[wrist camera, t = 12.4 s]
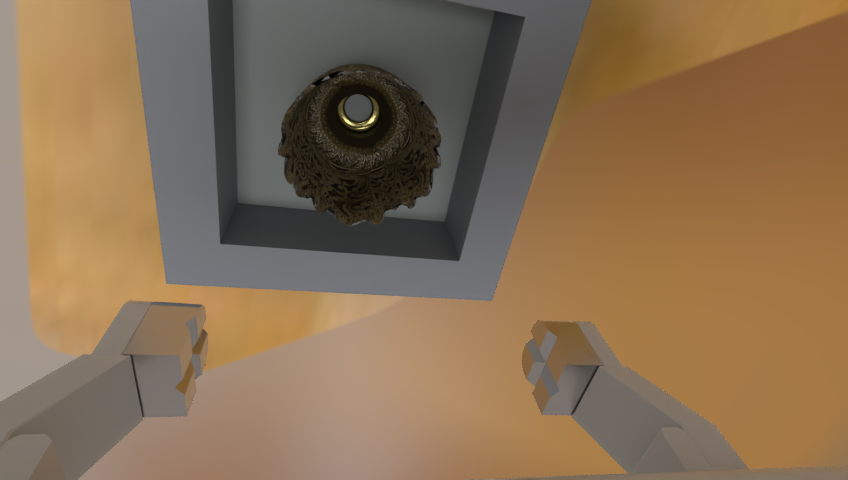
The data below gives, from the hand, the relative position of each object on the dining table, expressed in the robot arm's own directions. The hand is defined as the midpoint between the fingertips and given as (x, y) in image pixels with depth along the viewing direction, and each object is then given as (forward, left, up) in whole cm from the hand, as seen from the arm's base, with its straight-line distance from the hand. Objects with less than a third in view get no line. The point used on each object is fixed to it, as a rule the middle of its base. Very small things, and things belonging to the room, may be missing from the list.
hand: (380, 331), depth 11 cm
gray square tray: (0, 0, -20) cm, 20 cm away
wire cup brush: (0, 0, -19) cm, 19 cm away
